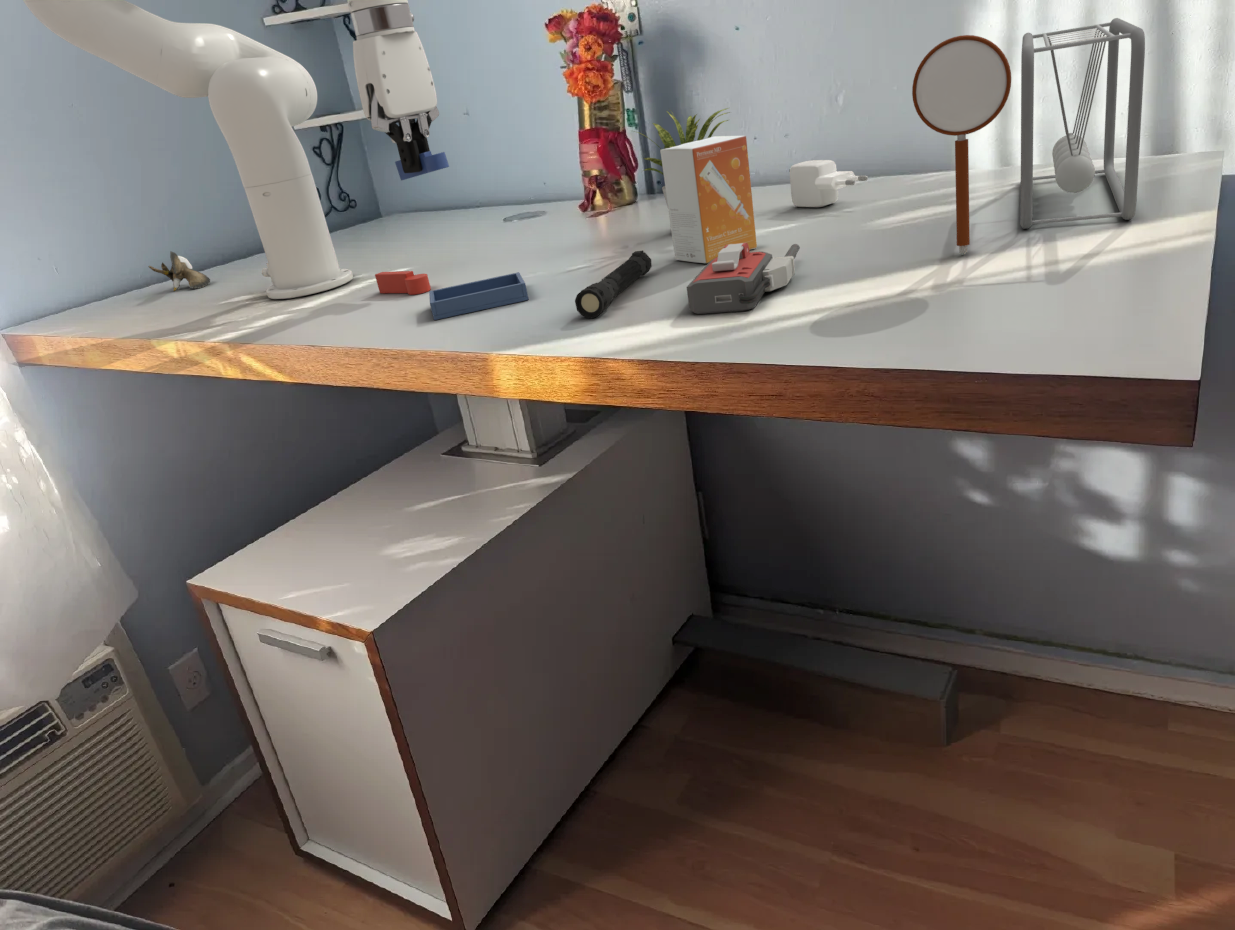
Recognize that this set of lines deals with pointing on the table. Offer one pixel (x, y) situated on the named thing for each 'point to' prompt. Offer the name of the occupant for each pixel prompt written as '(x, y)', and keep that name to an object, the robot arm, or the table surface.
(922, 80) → the magnifying glass
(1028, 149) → the newton's cradle
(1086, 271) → the table surface
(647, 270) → the flashlight
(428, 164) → the blue block with cylinder
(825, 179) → the power adapter
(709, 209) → the small box
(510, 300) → the blue tray
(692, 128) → the house plant
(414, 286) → the red block with cylinder
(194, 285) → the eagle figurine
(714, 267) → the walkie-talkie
